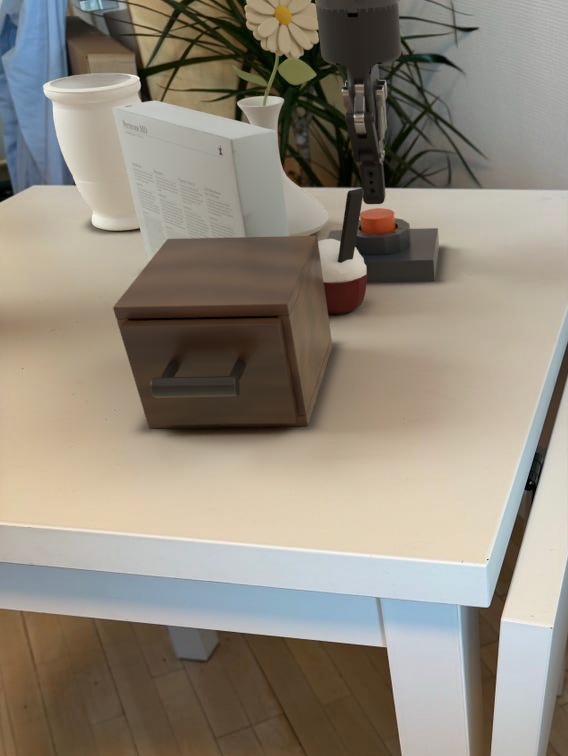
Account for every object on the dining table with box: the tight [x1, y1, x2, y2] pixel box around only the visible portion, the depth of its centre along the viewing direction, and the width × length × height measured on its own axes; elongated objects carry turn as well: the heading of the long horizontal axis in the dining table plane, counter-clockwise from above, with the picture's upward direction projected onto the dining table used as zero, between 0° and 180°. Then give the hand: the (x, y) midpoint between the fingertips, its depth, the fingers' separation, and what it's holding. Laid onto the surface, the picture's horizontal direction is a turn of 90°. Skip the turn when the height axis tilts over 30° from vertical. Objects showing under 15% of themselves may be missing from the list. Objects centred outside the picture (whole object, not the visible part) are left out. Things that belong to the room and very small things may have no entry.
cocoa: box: [318, 187, 368, 315], centre depth 85 cm, size 10×6×12 cm, turn 17°
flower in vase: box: [231, 0, 330, 236], centre depth 98 cm, size 13×11×25 cm
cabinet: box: [112, 235, 333, 429], centre depth 74 cm, size 15×13×10 cm
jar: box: [42, 72, 142, 232], centre depth 107 cm, size 11×10×15 cm
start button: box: [359, 207, 396, 234], centre depth 95 cm, size 4×4×2 cm
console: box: [326, 217, 440, 284], centre depth 97 cm, size 12×10×4 cm
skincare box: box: [112, 100, 289, 264], centre depth 89 cm, size 21×6×16 cm, turn 45°
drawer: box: [118, 316, 298, 426], centre depth 71 cm, size 18×12×8 cm, turn 179°
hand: (374, 201), depth 94 cm, fingers closed
